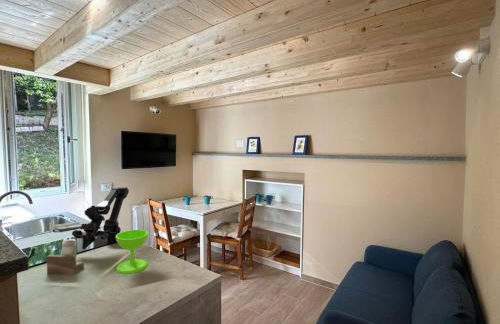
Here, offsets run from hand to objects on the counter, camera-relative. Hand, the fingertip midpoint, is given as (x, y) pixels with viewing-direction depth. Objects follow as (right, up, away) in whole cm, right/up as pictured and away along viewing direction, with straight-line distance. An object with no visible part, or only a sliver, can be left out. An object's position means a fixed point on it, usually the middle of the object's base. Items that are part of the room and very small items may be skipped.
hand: (83, 248), depth 146 cm
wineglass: (+30, -8, -5) cm, 31 cm away
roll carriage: (0, -6, -11) cm, 12 cm away
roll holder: (0, -7, -8) cm, 11 cm away
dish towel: (-50, -3, +57) cm, 75 cm away
